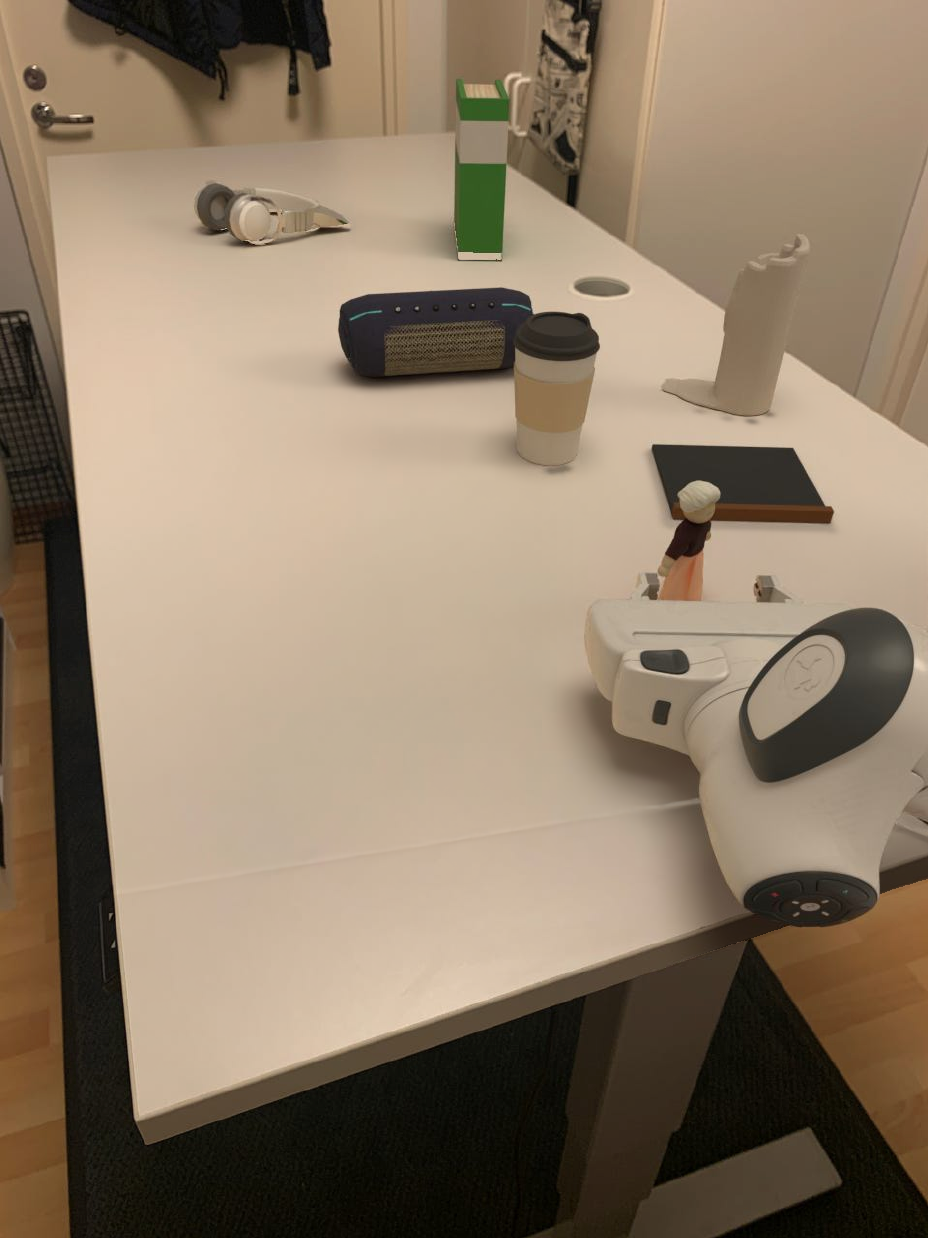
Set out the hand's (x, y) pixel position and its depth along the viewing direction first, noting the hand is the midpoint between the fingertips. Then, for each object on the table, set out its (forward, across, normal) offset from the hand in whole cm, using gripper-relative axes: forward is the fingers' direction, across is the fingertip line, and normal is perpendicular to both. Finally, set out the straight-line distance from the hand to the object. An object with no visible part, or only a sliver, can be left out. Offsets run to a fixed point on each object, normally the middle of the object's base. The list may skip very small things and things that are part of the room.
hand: (704, 580), depth 72 cm
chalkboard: (+27, -10, +7) cm, 30 cm away
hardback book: (+107, +18, +7) cm, 109 cm away
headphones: (+113, +56, +7) cm, 127 cm away
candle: (+48, -12, +7) cm, 50 cm away
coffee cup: (+33, +10, +7) cm, 35 cm away
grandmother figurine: (+5, 0, +7) cm, 9 cm away
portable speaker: (+54, +23, +7) cm, 60 cm away
